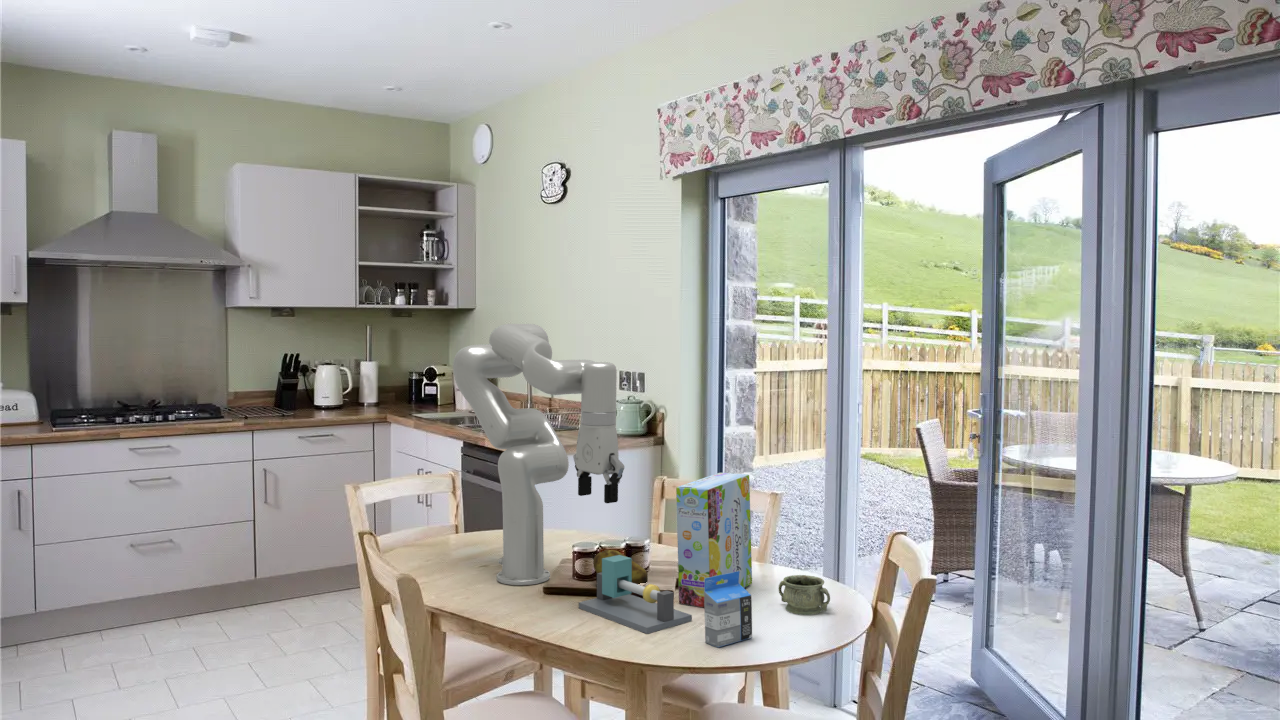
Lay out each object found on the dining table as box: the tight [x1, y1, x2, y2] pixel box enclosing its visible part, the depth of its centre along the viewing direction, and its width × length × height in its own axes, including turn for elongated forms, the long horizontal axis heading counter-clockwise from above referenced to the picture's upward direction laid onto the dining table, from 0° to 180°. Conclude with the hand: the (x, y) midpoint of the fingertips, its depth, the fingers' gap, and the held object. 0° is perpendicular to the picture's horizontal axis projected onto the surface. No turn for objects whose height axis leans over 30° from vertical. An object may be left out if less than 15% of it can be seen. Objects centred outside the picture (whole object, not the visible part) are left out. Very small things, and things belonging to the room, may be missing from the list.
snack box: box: [675, 472, 753, 608], centre depth 201 cm, size 22×9×26 cm, turn 149°
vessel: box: [778, 574, 831, 616], centre depth 190 cm, size 12×9×6 cm
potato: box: [592, 549, 649, 584], centre depth 207 cm, size 8×13×8 cm, turn 44°
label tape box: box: [704, 571, 753, 648], centre depth 170 cm, size 9×4×12 cm, turn 126°
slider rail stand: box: [578, 572, 693, 635], centre depth 187 cm, size 22×12×7 cm, turn 41°
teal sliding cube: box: [602, 555, 633, 598], centre depth 191 cm, size 4×5×8 cm
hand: (597, 498), depth 195 cm, fingers open, 9 cm apart
